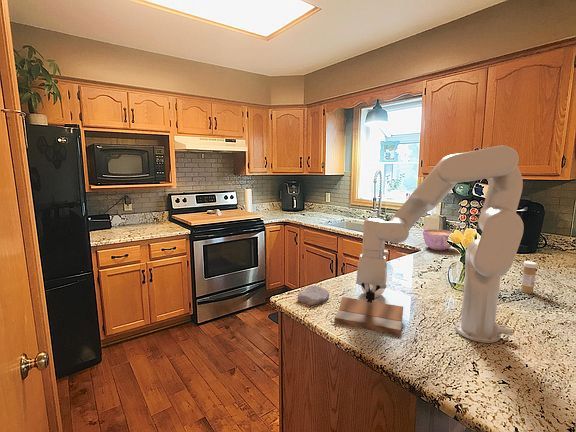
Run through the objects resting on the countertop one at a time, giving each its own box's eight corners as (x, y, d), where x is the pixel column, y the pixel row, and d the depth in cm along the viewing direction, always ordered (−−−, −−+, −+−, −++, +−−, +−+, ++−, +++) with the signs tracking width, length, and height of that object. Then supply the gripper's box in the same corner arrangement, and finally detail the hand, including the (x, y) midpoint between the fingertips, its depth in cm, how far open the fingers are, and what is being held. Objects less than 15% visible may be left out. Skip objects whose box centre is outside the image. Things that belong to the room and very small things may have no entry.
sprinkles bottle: (527, 289, 138) (531, 260, 136) (536, 294, 133) (540, 264, 131) (517, 290, 138) (521, 260, 136) (525, 294, 133) (529, 264, 131)
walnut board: (401, 327, 106) (401, 321, 105) (400, 335, 100) (400, 330, 100) (338, 315, 114) (338, 310, 114) (334, 322, 109) (334, 317, 108)
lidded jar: (387, 300, 127) (388, 278, 125) (360, 298, 129) (361, 277, 128) (384, 290, 137) (385, 270, 136) (359, 288, 139) (360, 268, 138)
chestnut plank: (403, 310, 111) (403, 306, 110) (401, 324, 107) (401, 321, 106) (342, 300, 120) (342, 296, 119) (339, 313, 116) (338, 309, 114)
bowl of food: (452, 254, 194) (454, 236, 192) (418, 250, 205) (419, 233, 203) (455, 247, 210) (457, 231, 209) (424, 244, 221) (425, 228, 219)
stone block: (330, 301, 130) (311, 291, 136) (332, 291, 129) (313, 282, 135) (315, 312, 121) (295, 301, 127) (317, 302, 120) (296, 291, 126)
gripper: (395, 252, 111) (392, 301, 114) (354, 248, 117) (351, 294, 120) (394, 258, 104) (390, 309, 107) (349, 252, 110) (347, 301, 113)
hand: (369, 301), depth 113 cm, fingers closed
